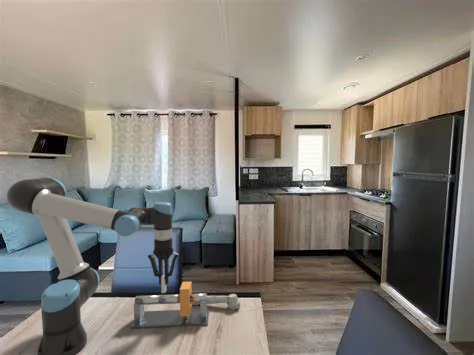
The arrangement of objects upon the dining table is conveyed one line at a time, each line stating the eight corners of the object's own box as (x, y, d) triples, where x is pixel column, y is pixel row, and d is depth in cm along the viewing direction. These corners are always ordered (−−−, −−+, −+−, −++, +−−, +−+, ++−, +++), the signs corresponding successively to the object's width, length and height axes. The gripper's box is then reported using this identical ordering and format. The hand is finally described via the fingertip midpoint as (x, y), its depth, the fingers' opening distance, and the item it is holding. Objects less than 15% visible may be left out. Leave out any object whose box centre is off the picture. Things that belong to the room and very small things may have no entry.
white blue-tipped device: (190, 293, 126) (239, 290, 122) (192, 306, 127) (241, 303, 123) (186, 299, 121) (237, 295, 117) (188, 312, 121) (239, 309, 117)
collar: (180, 316, 108) (179, 289, 108) (182, 306, 115) (182, 281, 115) (189, 315, 108) (189, 289, 108) (191, 306, 116) (191, 281, 116)
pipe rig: (130, 328, 105) (129, 303, 105) (138, 313, 116) (138, 290, 116) (207, 325, 107) (207, 300, 107) (209, 310, 118) (208, 287, 118)
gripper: (145, 241, 106) (146, 296, 107) (177, 240, 106) (177, 295, 108) (150, 235, 113) (151, 287, 114) (179, 235, 114) (180, 286, 115)
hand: (163, 291), depth 111 cm, fingers closed
